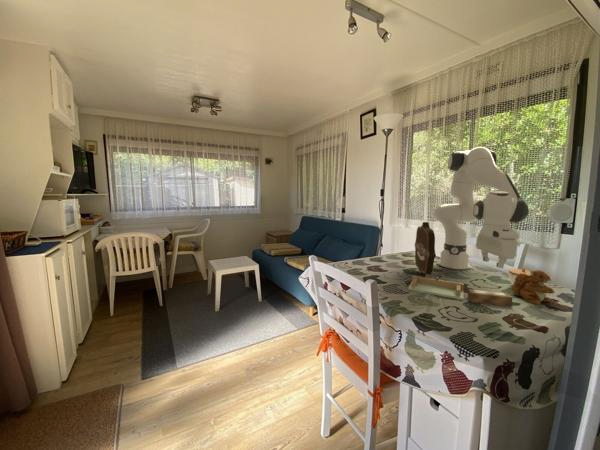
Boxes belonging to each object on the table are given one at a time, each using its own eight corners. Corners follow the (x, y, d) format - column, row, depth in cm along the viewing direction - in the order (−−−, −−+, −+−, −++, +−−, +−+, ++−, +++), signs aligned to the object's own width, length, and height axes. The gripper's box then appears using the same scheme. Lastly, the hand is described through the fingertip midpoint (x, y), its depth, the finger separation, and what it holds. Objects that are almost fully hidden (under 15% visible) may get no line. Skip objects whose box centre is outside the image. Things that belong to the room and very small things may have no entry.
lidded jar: (528, 293, 115) (530, 273, 113) (502, 285, 124) (504, 266, 123) (541, 289, 118) (544, 270, 117) (515, 282, 128) (517, 264, 127)
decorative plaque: (434, 285, 124) (438, 225, 120) (427, 285, 125) (431, 225, 121) (418, 268, 153) (421, 219, 149) (413, 267, 154) (415, 219, 150)
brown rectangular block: (471, 302, 105) (472, 292, 105) (467, 297, 110) (468, 288, 109) (511, 307, 101) (512, 297, 100) (505, 301, 106) (506, 292, 105)
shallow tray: (411, 282, 127) (412, 273, 127) (463, 291, 116) (464, 281, 115) (408, 289, 118) (408, 279, 118) (463, 300, 106) (464, 289, 106)
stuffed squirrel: (539, 306, 101) (543, 275, 99) (503, 293, 114) (506, 265, 113) (557, 303, 103) (561, 273, 102) (519, 291, 117) (522, 263, 115)
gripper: (473, 227, 112) (470, 257, 114) (503, 234, 92) (499, 271, 94) (488, 228, 112) (485, 258, 113) (522, 235, 91) (518, 271, 93)
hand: (492, 264), depth 103 cm, fingers open, 8 cm apart
